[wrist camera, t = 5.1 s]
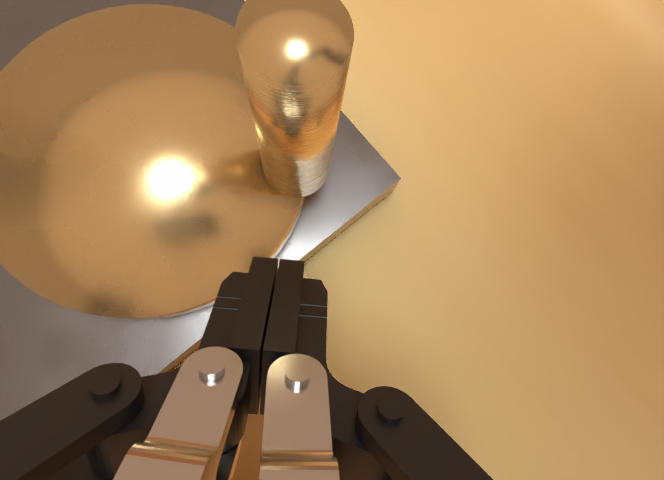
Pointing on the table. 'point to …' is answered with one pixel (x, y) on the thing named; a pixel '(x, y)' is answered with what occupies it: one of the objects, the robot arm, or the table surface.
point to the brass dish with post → (165, 149)
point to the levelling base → (162, 333)
